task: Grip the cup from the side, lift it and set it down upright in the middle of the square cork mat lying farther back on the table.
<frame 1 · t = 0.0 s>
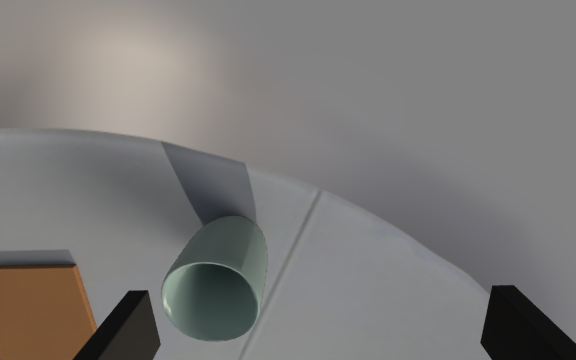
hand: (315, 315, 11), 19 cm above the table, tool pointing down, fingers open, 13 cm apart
cork mat: (27, 326, 37), on the table
cup: (237, 236, 32), on the table
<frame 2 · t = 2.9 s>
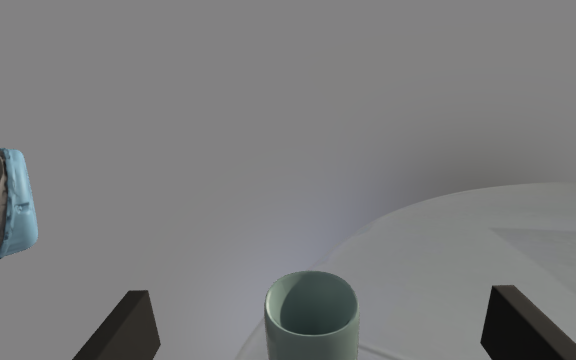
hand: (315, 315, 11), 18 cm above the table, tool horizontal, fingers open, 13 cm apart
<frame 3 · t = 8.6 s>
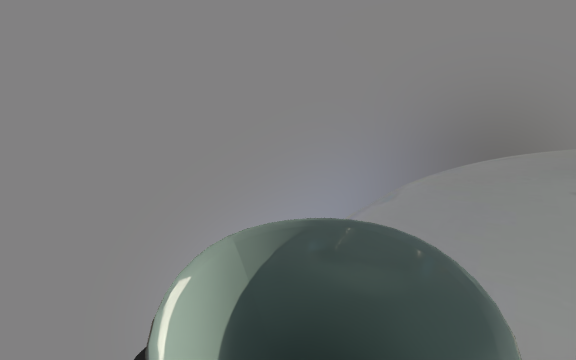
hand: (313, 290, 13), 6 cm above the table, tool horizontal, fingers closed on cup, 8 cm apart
when the fingers open (7 cm above the table, at t = 18.3 s): cup stays where it is, resting on cork mat.
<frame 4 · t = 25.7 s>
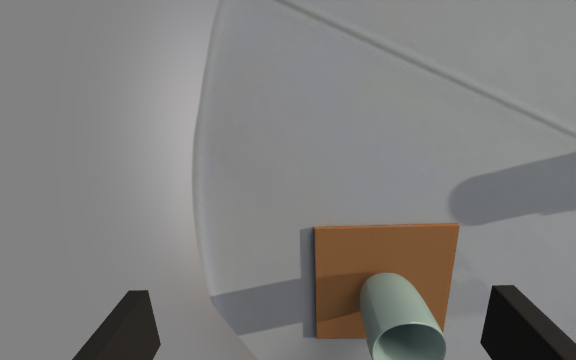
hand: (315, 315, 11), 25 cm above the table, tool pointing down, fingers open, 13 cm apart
cork mat: (381, 283, 40), on the table
cup: (382, 286, 40), resting on cork mat
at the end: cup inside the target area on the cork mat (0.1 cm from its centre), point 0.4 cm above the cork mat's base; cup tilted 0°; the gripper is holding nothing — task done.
